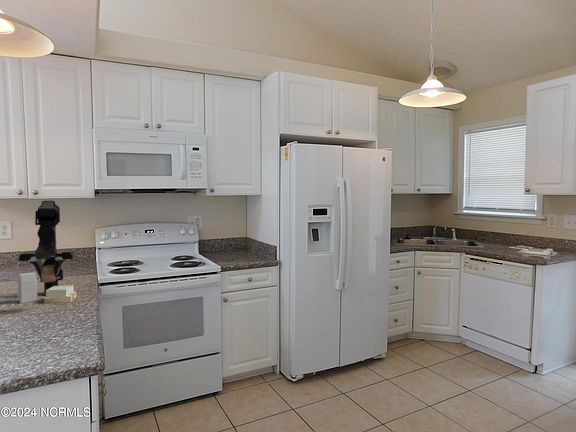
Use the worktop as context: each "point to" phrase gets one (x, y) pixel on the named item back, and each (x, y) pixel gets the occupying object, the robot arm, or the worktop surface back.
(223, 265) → the worktop surface
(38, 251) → the robot arm
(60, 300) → the maple block
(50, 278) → the brown rounded cylinder
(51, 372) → the worktop surface
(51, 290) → the sage block
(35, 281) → the skincare box
